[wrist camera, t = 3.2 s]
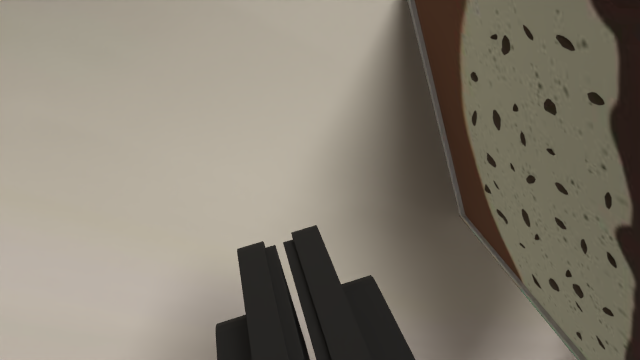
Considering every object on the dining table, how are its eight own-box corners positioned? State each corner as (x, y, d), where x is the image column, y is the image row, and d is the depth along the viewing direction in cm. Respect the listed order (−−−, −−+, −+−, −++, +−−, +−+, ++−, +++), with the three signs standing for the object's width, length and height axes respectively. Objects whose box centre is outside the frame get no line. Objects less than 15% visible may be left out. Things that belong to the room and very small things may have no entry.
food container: (600, 184, 21) (895, 374, 12) (466, 243, 20) (667, 480, 12) (583, -151, 14) (1167, -260, 6) (389, -71, 14) (695, -58, 6)
